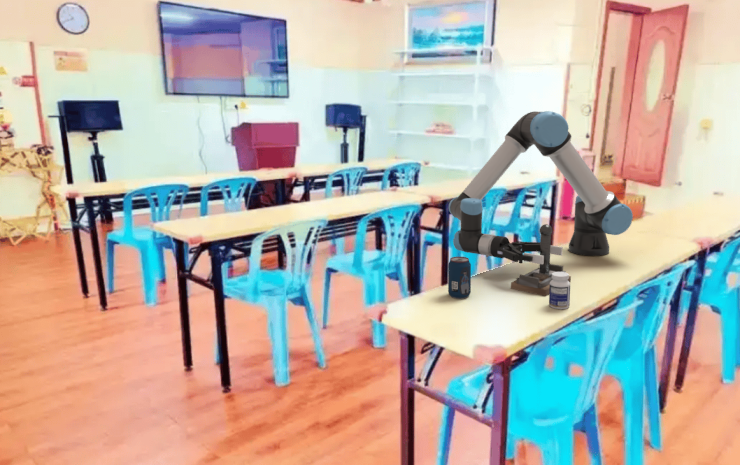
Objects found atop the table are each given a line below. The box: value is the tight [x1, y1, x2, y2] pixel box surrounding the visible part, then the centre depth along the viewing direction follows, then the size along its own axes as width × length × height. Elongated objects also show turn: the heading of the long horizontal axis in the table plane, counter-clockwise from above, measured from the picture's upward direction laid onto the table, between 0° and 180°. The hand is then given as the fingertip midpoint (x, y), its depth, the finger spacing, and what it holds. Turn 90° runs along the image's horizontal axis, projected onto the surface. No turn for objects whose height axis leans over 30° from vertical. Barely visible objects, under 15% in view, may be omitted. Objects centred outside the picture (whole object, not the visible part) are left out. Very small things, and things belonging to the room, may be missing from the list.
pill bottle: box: [548, 272, 571, 310], centre depth 162 cm, size 6×6×10 cm
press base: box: [510, 263, 572, 297], centre depth 182 cm, size 18×13×5 cm
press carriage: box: [533, 223, 556, 280], centre depth 181 cm, size 5×6×18 cm
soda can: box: [447, 256, 472, 300], centre depth 173 cm, size 7×7×12 cm
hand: (552, 255), depth 179 cm, fingers open, 13 cm apart
